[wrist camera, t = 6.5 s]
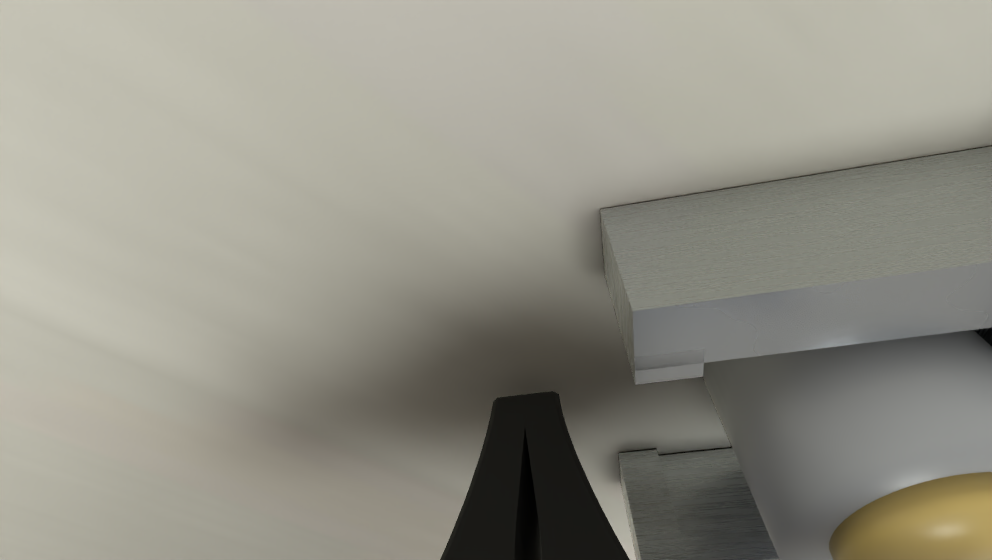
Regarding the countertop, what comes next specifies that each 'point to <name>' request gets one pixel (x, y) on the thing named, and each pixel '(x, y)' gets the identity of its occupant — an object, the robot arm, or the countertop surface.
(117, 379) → the countertop surface
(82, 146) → the countertop surface
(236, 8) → the countertop surface
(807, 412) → the grey round piece
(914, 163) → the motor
